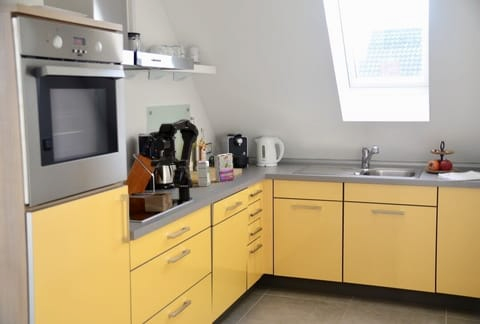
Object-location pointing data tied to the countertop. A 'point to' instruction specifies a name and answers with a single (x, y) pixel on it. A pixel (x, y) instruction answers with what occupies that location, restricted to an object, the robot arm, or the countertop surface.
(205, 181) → the syrup box
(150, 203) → the money box
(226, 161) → the candy bar box
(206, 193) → the countertop surface
